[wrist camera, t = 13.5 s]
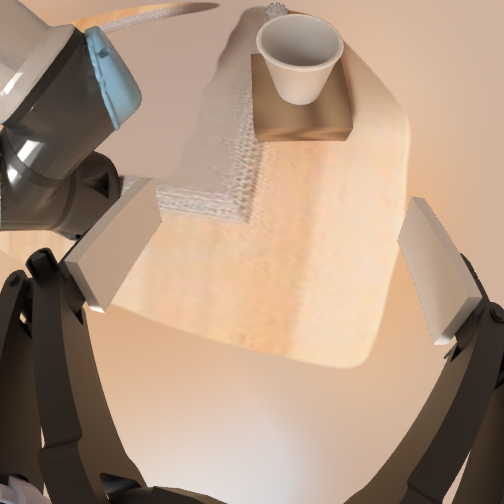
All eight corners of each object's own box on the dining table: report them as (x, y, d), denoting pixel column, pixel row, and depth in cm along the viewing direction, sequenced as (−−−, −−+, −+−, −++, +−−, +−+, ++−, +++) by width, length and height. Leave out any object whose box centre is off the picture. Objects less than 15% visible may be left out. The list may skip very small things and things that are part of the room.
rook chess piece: (286, 28, 33) (285, -4, 25) (297, 44, 33) (297, 12, 25) (261, 34, 34) (255, 3, 26) (271, 50, 34) (266, 19, 26)
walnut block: (258, 142, 35) (253, 129, 30) (255, 72, 35) (251, 54, 30) (345, 141, 34) (353, 127, 29) (334, 71, 33) (339, 53, 28)
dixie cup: (322, 123, 29) (334, 80, 19) (256, 103, 30) (243, 58, 20) (338, 72, 28) (350, 25, 18) (276, 56, 29) (271, 7, 19)
